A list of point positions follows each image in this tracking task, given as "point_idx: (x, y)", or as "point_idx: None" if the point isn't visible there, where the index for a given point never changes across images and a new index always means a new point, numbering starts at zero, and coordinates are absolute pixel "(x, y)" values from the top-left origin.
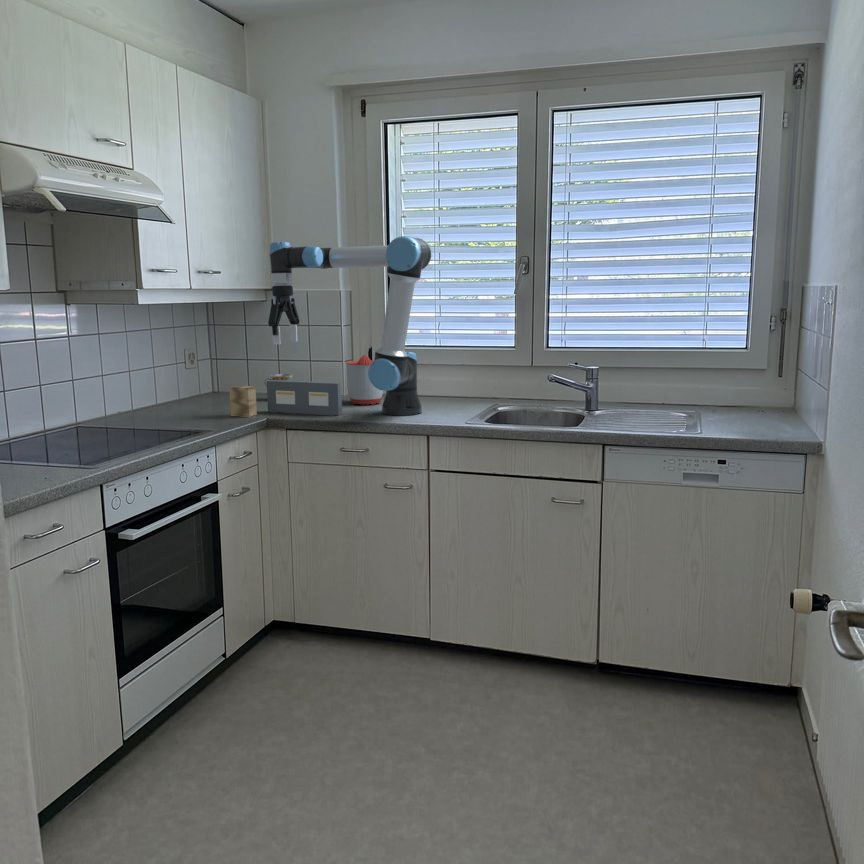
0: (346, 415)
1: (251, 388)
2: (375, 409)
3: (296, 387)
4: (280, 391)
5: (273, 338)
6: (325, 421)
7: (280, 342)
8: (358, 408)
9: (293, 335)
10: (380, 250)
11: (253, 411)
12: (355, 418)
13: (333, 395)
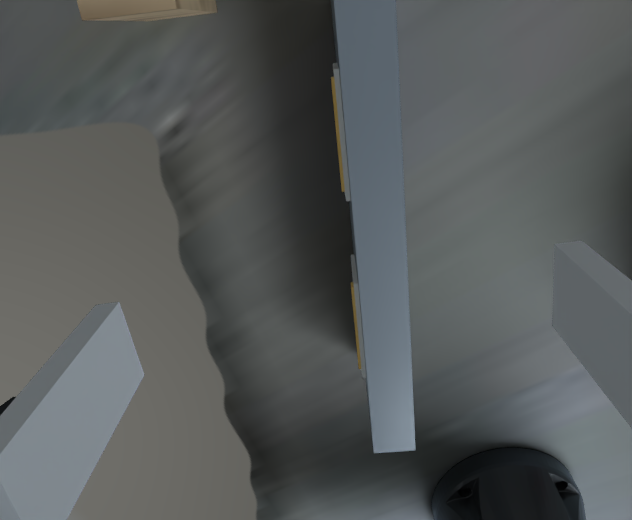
0: None
1: (128, 15)
2: (553, 401)
3: (352, 220)
4: (336, 105)
5: (66, 352)
6: (233, 373)
7: (132, 388)
8: None
9: (592, 333)
10: None
11: (181, 15)
12: (334, 428)
13: (367, 392)
